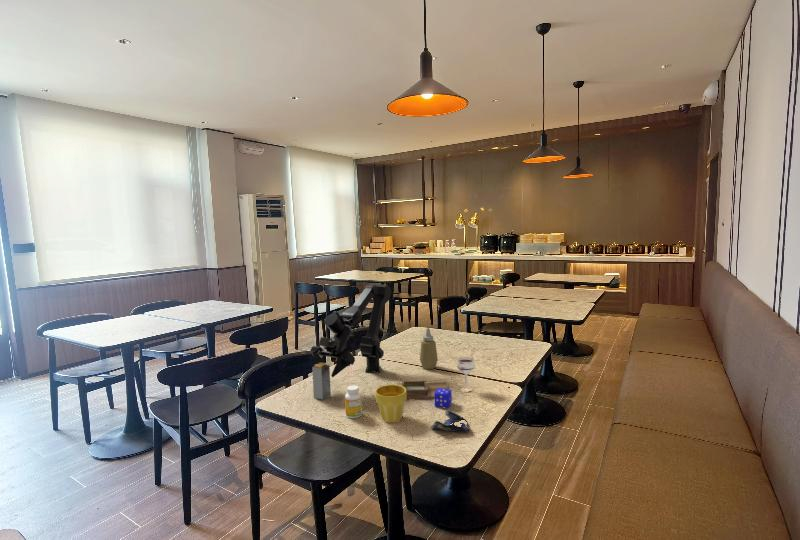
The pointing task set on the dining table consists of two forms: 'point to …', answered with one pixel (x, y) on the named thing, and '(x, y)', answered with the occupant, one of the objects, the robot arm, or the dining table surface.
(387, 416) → the plant pot
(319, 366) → the grey faceted pillar
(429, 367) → the squeeze bottle
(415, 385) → the chassis board
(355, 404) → the supplement bottle
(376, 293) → the robot arm
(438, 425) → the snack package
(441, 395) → the die
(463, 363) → the wineglass
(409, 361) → the dining table surface
